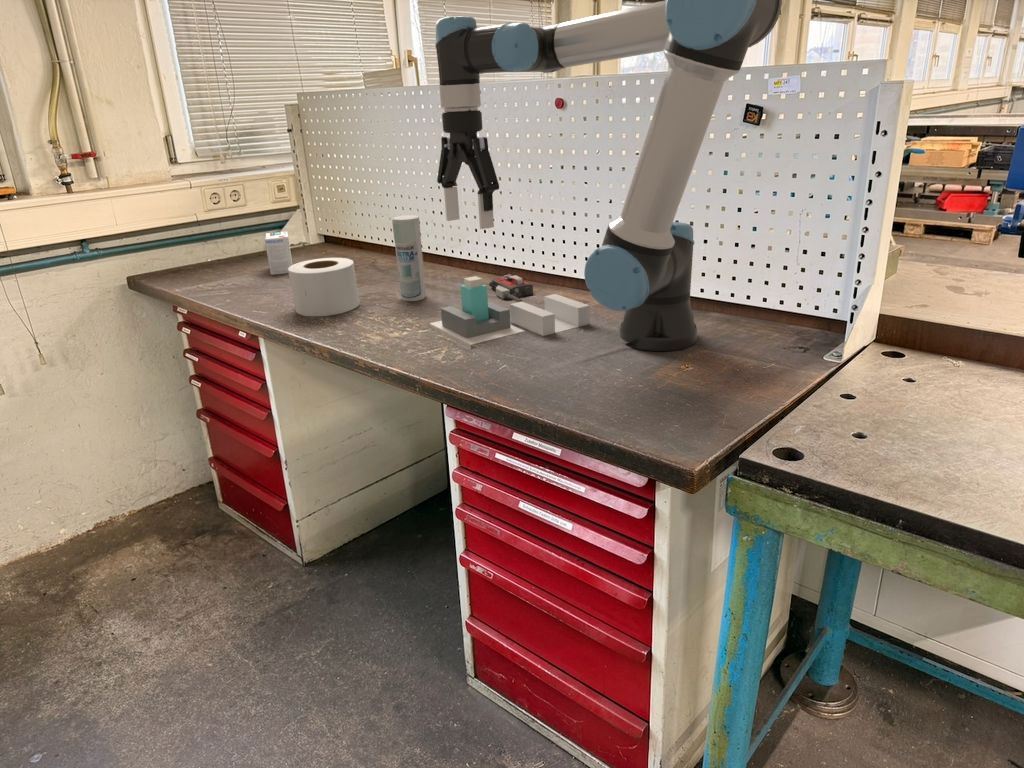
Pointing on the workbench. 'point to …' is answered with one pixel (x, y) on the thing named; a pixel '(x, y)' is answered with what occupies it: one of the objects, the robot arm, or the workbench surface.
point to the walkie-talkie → (511, 287)
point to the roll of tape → (324, 286)
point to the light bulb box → (278, 252)
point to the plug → (475, 298)
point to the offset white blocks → (550, 315)
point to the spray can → (409, 257)
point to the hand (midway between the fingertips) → (469, 224)
